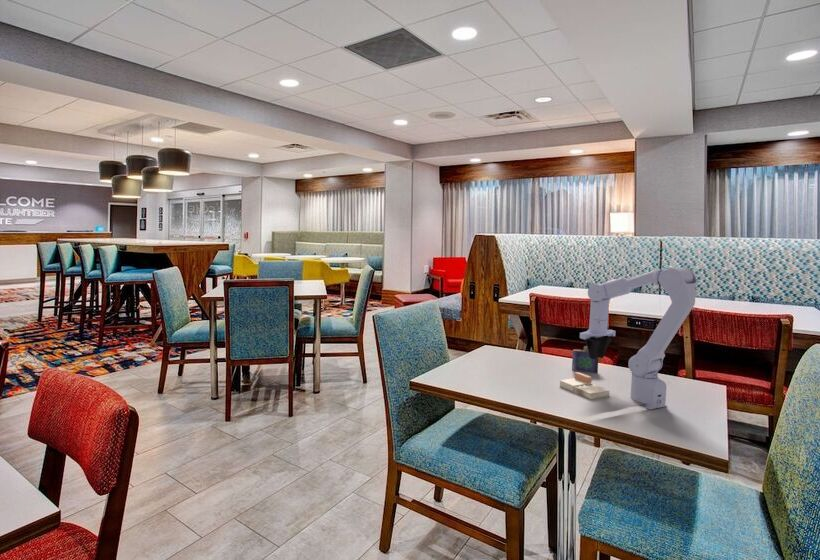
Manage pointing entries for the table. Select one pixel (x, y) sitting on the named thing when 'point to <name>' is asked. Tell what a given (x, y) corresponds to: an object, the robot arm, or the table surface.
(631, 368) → the robot arm
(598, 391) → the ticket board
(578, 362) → the flask
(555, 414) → the table surface
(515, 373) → the table surface
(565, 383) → the cream block with bar
